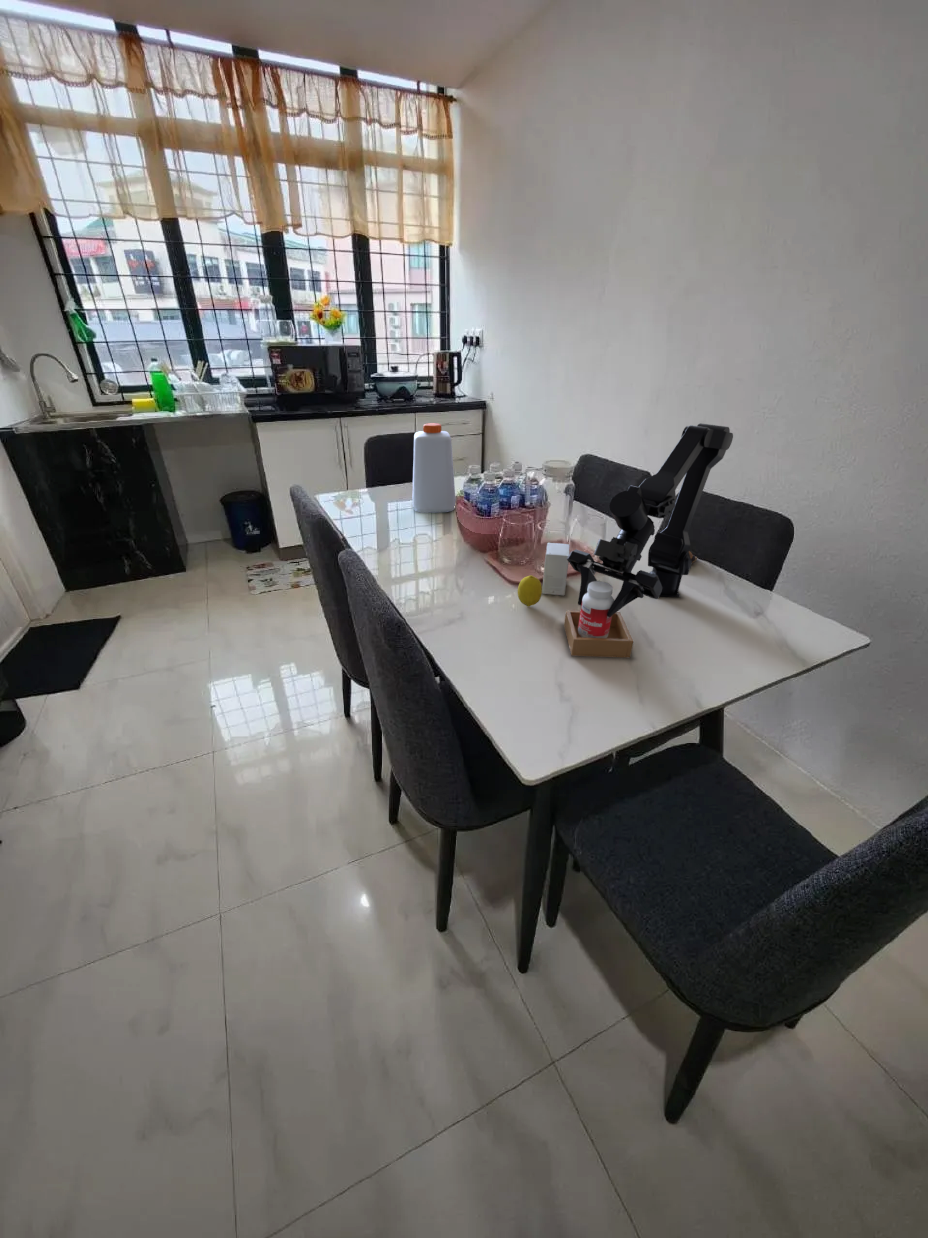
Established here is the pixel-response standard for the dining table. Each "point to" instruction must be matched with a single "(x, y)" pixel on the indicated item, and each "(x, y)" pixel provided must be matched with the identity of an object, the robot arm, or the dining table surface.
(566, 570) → the small box
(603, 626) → the pill bottle
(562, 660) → the dining table surface
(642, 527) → the robot arm
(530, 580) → the lemon
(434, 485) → the plastic bottle
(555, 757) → the dining table surface
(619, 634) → the open box
